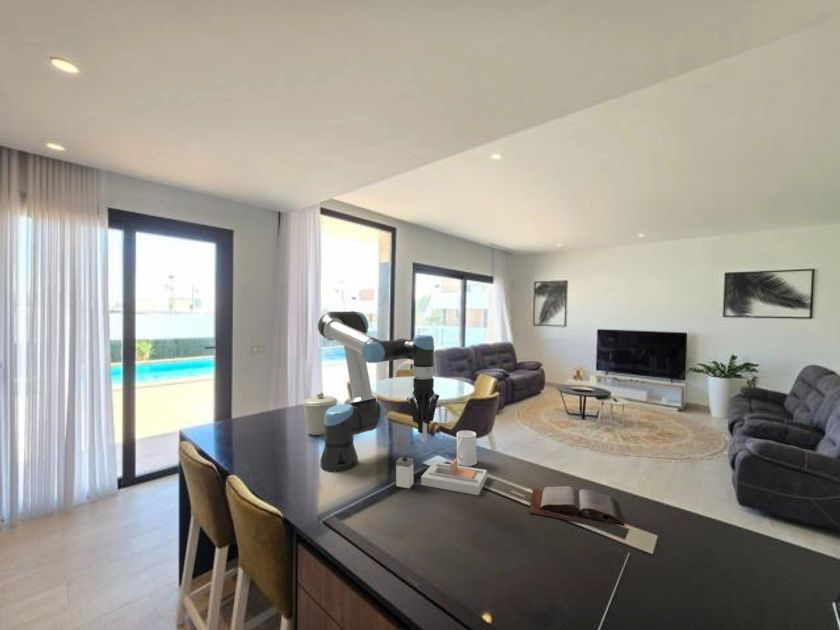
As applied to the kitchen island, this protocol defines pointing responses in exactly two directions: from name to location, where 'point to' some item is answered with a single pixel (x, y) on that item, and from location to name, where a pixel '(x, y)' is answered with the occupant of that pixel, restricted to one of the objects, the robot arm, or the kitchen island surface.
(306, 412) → the canister
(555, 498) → the book
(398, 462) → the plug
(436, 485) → the white tray
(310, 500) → the kitchen island surface
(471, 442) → the mug
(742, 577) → the kitchen island surface
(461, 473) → the shutter
